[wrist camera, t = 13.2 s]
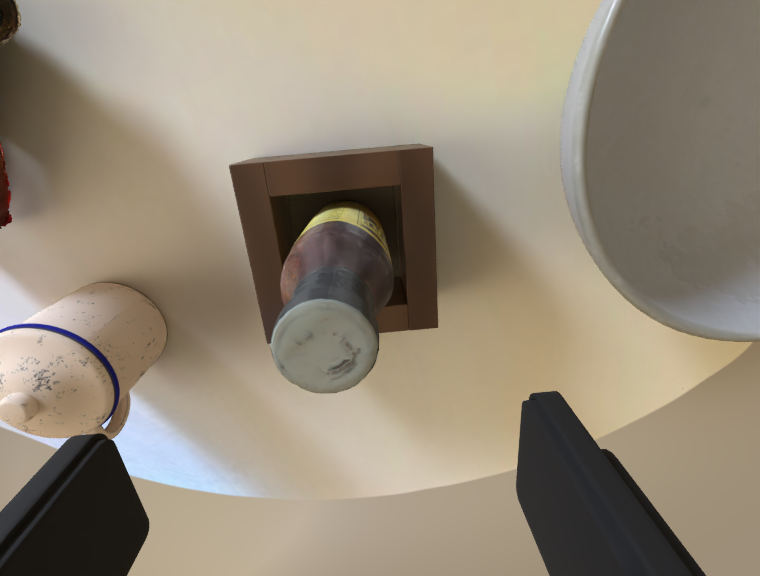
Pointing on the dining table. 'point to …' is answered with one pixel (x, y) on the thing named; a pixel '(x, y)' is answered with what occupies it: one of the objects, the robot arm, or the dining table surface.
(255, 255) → the holder
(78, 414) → the teacup with lid
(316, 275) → the sauce bottle
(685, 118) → the decorative bowl
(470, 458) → the dining table surface
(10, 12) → the pot
